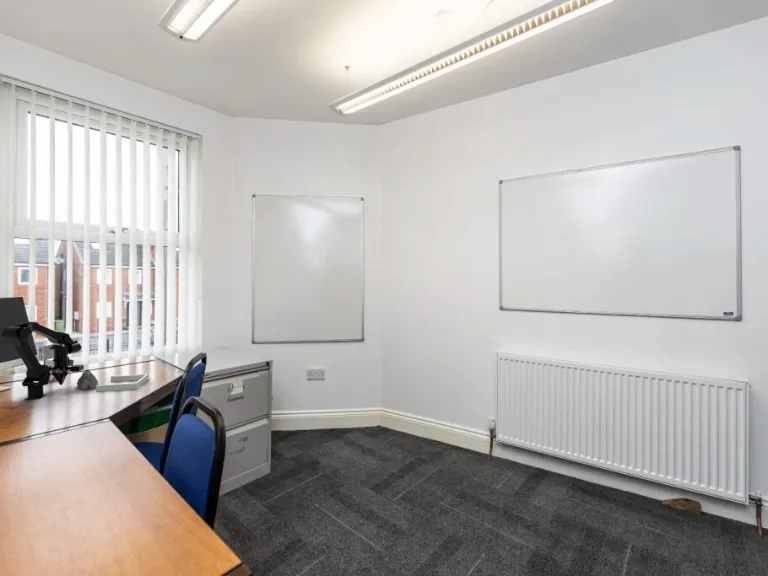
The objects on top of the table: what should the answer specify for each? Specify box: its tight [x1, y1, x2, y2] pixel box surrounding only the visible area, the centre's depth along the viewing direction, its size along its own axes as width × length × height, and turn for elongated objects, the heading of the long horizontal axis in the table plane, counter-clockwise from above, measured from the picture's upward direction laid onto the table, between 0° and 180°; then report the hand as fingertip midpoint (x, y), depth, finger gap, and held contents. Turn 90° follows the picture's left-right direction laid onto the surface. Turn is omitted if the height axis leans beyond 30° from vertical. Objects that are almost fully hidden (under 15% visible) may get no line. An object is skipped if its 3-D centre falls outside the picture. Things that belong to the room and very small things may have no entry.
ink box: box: [45, 359, 58, 382], centre depth 218 cm, size 9×5×12 cm, turn 84°
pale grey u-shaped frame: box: [95, 373, 150, 392], centre depth 210 cm, size 19×19×3 cm
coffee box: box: [43, 343, 63, 365], centre depth 237 cm, size 9×6×16 cm
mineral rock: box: [76, 369, 100, 390], centre depth 205 cm, size 13×11×10 cm
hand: (61, 384), depth 202 cm, fingers closed
